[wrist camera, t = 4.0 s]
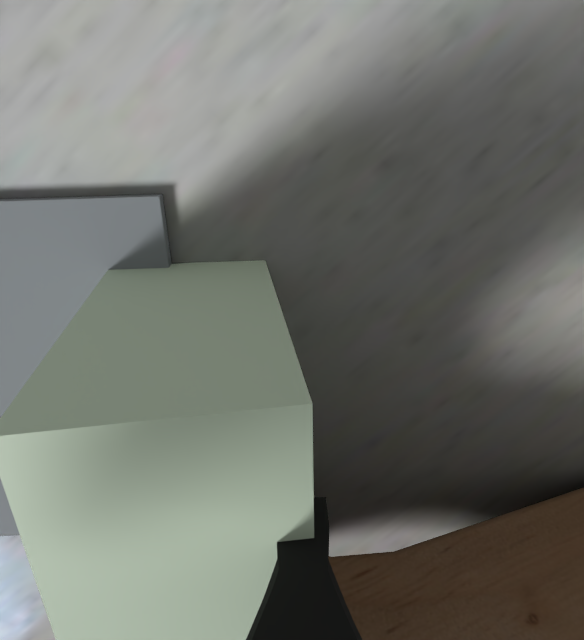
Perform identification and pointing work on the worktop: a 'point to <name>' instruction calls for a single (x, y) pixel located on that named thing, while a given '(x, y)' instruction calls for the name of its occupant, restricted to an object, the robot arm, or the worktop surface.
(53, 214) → the mat
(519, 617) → the wooden block
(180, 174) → the worktop surface
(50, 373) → the sage block
